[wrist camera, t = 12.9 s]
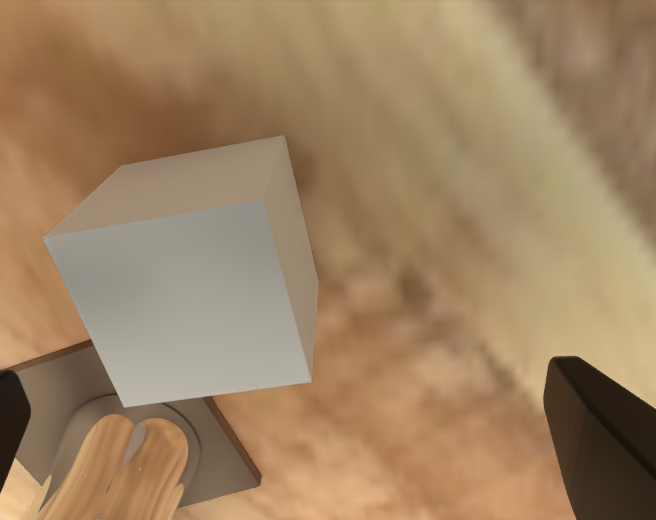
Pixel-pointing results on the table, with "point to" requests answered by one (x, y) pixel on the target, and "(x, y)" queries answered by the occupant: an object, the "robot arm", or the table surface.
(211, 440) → the coaster
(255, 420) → the table surface
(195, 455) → the beer glass
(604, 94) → the table surface
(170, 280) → the letter block
